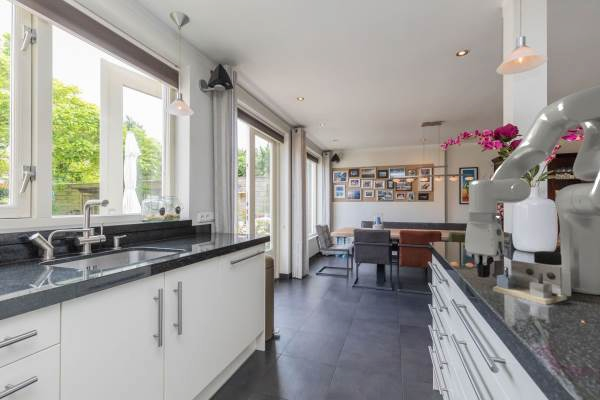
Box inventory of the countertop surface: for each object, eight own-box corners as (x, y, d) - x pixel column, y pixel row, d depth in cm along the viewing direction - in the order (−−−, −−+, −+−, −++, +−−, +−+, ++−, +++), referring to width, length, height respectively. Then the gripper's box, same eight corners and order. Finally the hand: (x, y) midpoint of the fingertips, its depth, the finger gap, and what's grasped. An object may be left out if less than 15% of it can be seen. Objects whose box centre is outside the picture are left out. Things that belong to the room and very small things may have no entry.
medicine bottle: (572, 297, 77) (570, 254, 78) (542, 296, 79) (541, 253, 79) (554, 290, 84) (553, 250, 85) (527, 288, 86) (526, 249, 86)
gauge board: (513, 286, 86) (513, 259, 87) (567, 299, 74) (566, 267, 75) (492, 290, 82) (492, 262, 83) (545, 304, 71) (544, 271, 71)
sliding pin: (505, 284, 84) (505, 265, 84) (516, 287, 81) (516, 267, 81) (497, 286, 83) (496, 267, 83) (508, 289, 80) (507, 269, 80)
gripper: (516, 219, 83) (517, 281, 83) (468, 217, 97) (469, 270, 96) (500, 220, 80) (501, 284, 80) (453, 218, 94) (454, 272, 93)
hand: (483, 276), depth 88 cm, fingers closed
